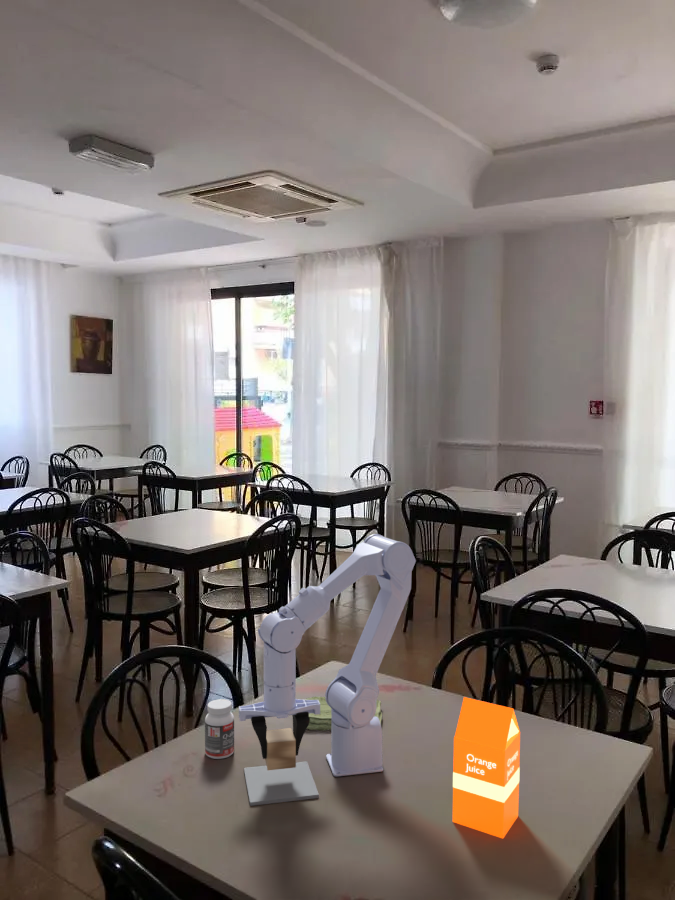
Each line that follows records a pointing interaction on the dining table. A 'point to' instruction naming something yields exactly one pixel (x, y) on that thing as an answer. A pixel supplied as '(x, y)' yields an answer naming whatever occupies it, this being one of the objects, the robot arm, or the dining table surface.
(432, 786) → the dining table surface
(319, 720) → the washcloth
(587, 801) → the dining table surface
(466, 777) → the orange juice
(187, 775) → the dining table surface
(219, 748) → the pill bottle
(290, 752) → the oak cube
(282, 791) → the grey board
